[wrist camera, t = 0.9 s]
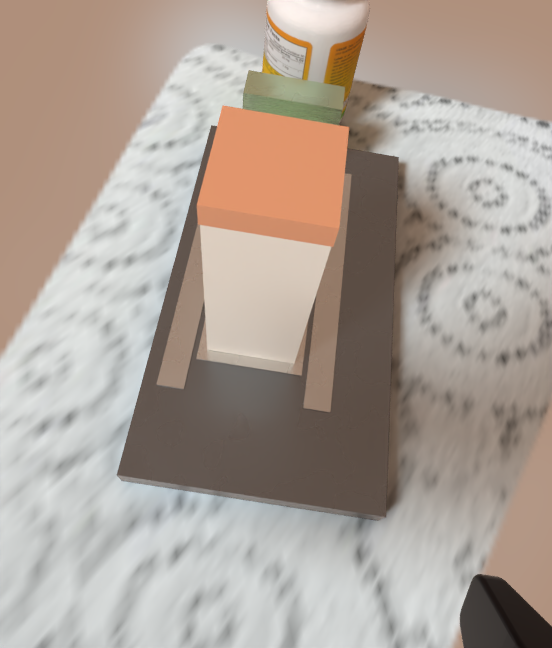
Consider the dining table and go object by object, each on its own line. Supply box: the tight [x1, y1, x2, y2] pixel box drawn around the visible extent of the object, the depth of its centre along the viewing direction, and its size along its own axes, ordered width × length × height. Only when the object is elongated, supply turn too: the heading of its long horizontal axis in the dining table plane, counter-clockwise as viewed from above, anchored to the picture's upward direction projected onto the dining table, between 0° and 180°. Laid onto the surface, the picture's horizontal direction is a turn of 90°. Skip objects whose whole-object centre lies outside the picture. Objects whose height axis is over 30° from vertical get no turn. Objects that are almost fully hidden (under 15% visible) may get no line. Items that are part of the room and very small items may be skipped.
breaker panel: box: [117, 70, 399, 521], centre depth 25 cm, size 20×11×5 cm, turn 172°
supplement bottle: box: [262, 0, 370, 122], centre depth 29 cm, size 5×5×10 cm
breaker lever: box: [197, 106, 349, 364], centre depth 20 cm, size 4×4×10 cm
